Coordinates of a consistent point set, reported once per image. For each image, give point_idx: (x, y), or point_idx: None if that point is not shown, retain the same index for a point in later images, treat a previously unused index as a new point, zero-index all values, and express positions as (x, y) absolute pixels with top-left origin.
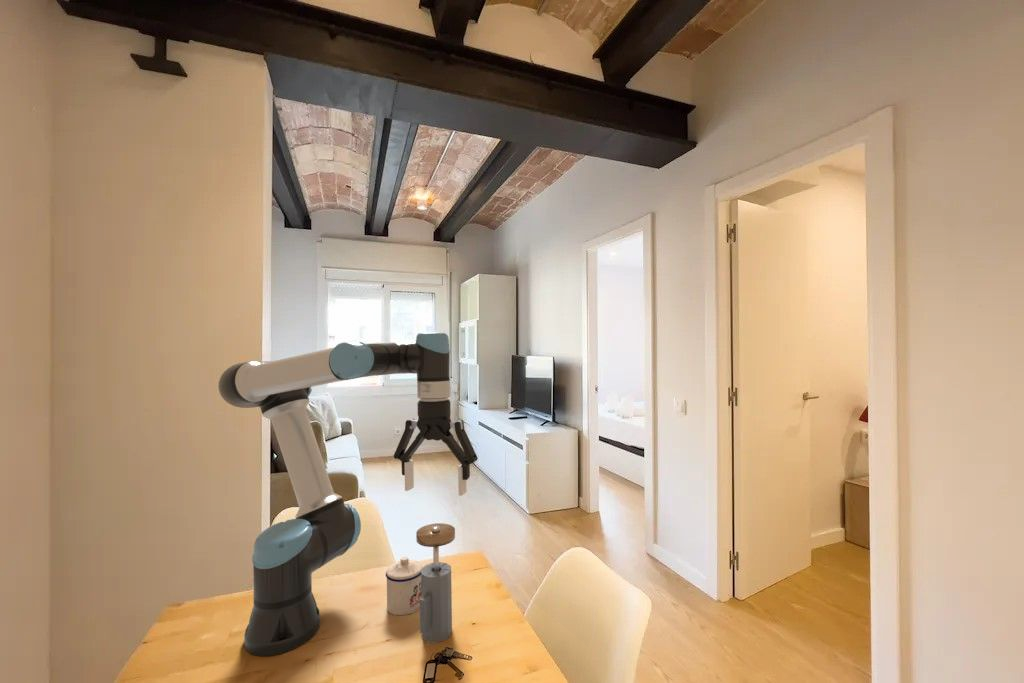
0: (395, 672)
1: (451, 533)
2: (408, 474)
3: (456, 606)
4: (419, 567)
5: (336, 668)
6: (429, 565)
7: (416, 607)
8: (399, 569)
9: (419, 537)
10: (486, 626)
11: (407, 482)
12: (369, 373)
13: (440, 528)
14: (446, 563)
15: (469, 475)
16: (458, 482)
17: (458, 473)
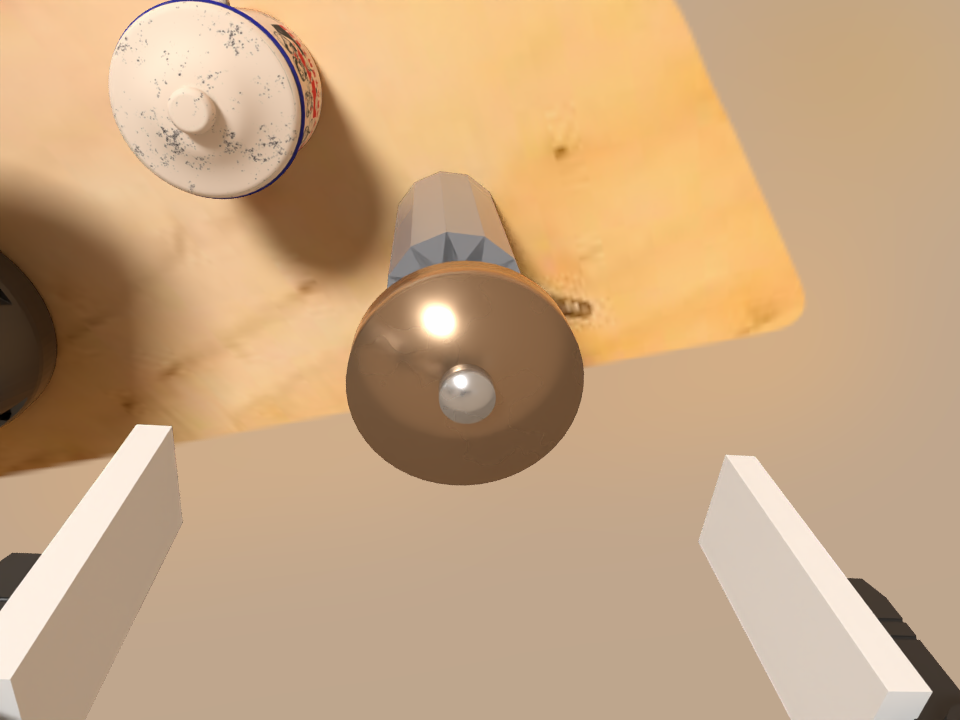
0: None
1: (572, 399)
2: (117, 636)
3: (464, 55)
4: (280, 91)
5: (235, 413)
6: (408, 273)
7: (316, 124)
8: (203, 160)
9: (404, 469)
10: (609, 160)
11: (150, 583)
12: None
13: (481, 349)
14: (485, 239)
15: (887, 611)
16: (745, 632)
17: (789, 711)
